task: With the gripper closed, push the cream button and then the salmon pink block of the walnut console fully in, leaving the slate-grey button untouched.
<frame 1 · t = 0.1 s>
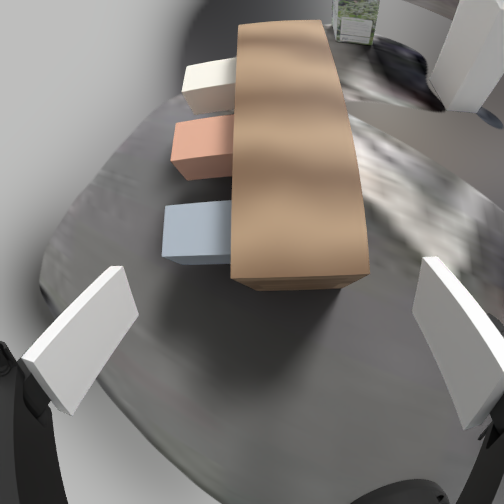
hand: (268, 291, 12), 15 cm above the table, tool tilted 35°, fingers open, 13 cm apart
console: (294, 172, 29), on the table
slate button: (226, 234, 23), point 6 cm above the table, slide at 0.0 cm
milk: (452, 96, 28), on the table
syrup box: (351, 35, 33), on the table
salmon pink block: (229, 146, 24), point 6 cm above the table, slide at 0.0 cm
cream button: (232, 83, 26), point 6 cm above the table, slide at 0.0 cm
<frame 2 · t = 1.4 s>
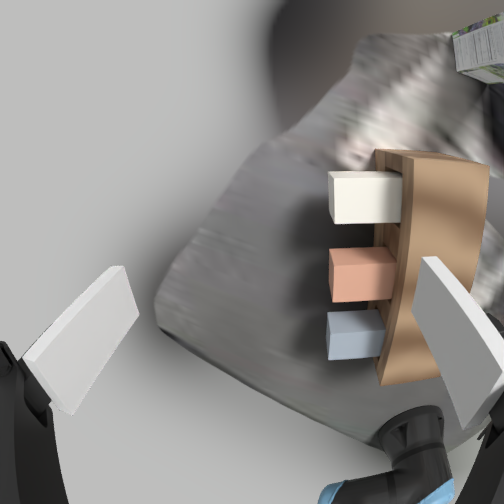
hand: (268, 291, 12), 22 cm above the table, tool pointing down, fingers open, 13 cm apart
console: (402, 248, 32), on the table
slate button: (365, 333, 31), point 6 cm above the table, slide at 0.0 cm
syrup box: (470, 59, 21), on the table
salmon pink block: (373, 272, 28), point 6 cm above the table, slide at 0.0 cm
cream button: (378, 195, 25), point 6 cm above the table, slide at 0.0 cm
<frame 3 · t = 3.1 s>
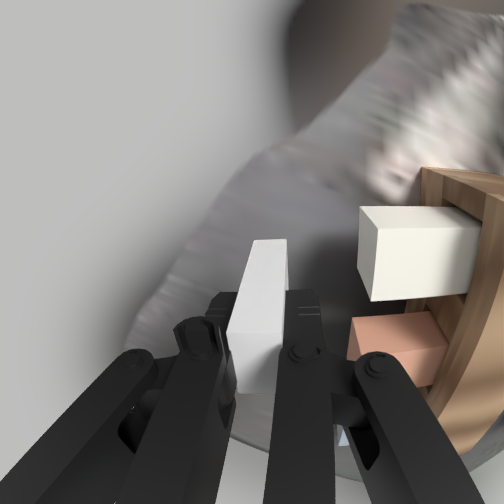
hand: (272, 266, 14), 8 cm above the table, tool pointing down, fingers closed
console: (442, 300, 22), on the table
slate button: (387, 412, 21), point 6 cm above the table, slide at 0.0 cm
salmon pink block: (411, 350, 18), point 6 cm above the table, slide at 0.0 cm
cream button: (435, 248, 14), point 6 cm above the table, slide at 0.0 cm
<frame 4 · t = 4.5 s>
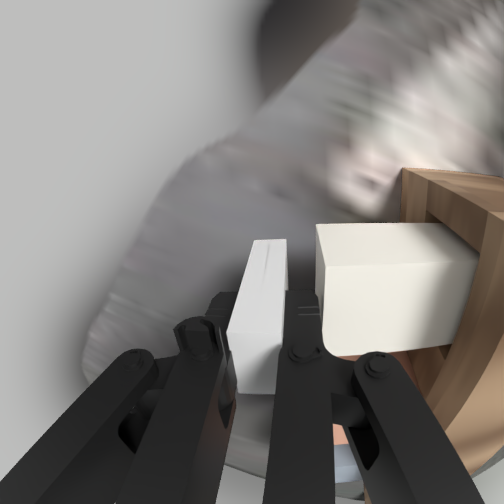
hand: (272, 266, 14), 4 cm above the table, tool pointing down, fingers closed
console: (427, 328, 19), on the table
slate button: (354, 453, 17), point 6 cm above the table, slide at 0.0 cm
salmon pink block: (378, 398, 14), point 6 cm above the table, slide at 0.0 cm
cream button: (419, 282, 11), point 6 cm above the table, slide at 0.4 cm, touching gripper
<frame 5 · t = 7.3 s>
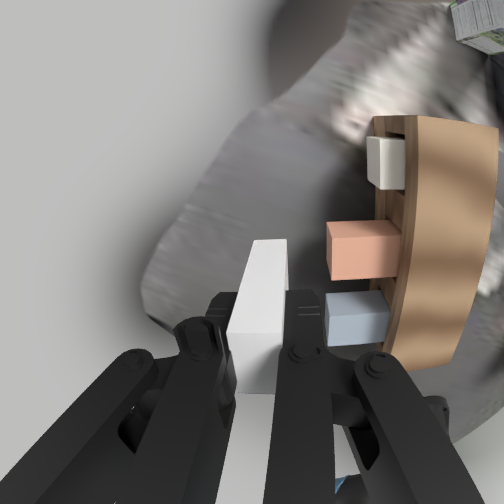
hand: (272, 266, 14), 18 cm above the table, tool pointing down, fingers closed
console: (405, 224, 30), on the table
slate button: (368, 316, 28), point 6 cm above the table, slide at 0.0 cm
syrup box: (469, 30, 18), on the table
salmon pink block: (376, 248, 25), point 6 cm above the table, slide at 0.0 cm
cream button: (419, 162, 21), point 6 cm above the table, slide at 4.0 cm, touching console
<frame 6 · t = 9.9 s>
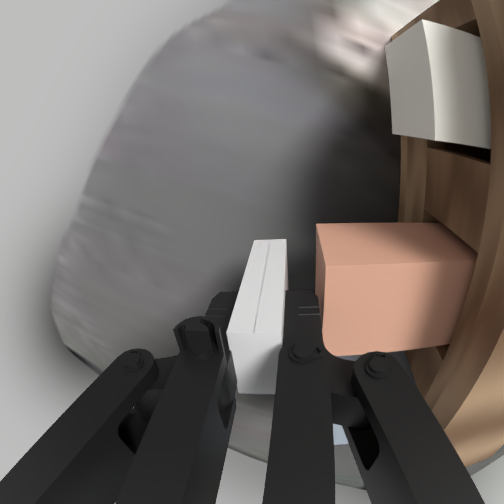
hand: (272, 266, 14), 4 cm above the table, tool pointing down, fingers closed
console: (448, 231, 16), on the table
slate button: (376, 398, 14), point 6 cm above the table, slide at 0.0 cm
salmon pink block: (419, 282, 11), point 6 cm above the table, slide at 0.6 cm, touching gripper
cream button: (496, 103, 7), point 6 cm above the table, slide at 4.0 cm, touching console
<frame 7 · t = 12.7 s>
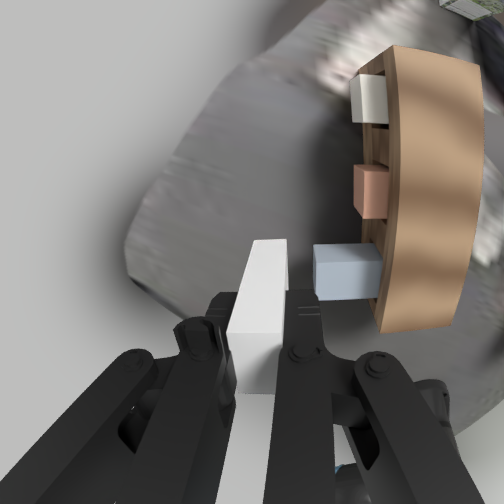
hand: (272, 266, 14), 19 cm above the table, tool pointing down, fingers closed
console: (396, 178, 28), on the table
slate button: (359, 270, 27), point 6 cm above the table, slide at 0.0 cm
salmon pink block: (404, 190, 23), point 6 cm above the table, slide at 4.0 cm, touching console
cream button: (404, 103, 20), point 6 cm above the table, slide at 4.0 cm, touching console
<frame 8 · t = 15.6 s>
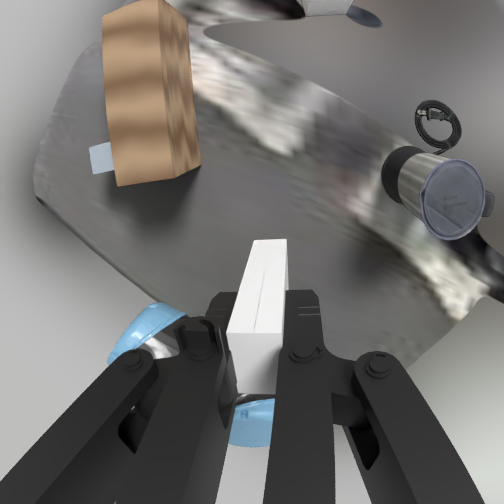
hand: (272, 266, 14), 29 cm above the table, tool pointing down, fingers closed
milk frother: (417, 152, 36), on the table
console: (167, 92, 37), on the table
slate button: (122, 153, 36), point 6 cm above the table, slide at 0.0 cm
milk: (320, 0, 28), on the table
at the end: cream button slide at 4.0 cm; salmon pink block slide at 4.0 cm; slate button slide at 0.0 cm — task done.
